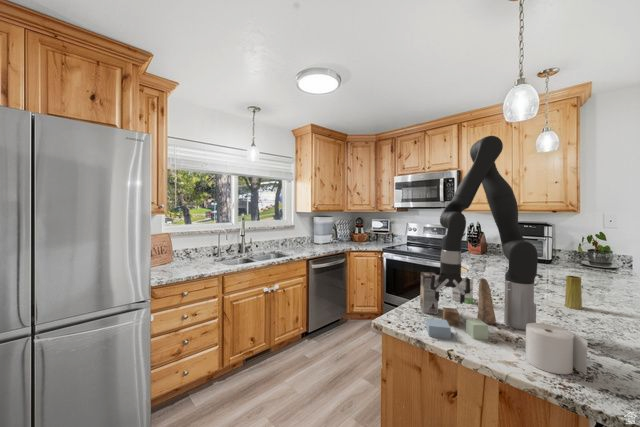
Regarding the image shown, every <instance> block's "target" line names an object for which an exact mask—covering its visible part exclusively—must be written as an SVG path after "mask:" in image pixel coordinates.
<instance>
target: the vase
mask: <svg viewBox="0 0 640 427" xmlns="http://www.w3.org/2000/svg"><path fill="white" fill-rule="evenodd" d="M565 277H566V278H565V296H564V307H566V308H568V307H569V309H572V308H573V309H572V310H582V309H583V298H582V297H583V296H582V277H580V276H578V275H577V276H576V275H566V276H565Z"/></svg>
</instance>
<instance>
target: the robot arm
mask: <svg viewBox="0 0 640 427" xmlns="http://www.w3.org/2000/svg"><path fill="white" fill-rule="evenodd" d="M503 146H504V144H503V141H502V139H501V138H499V137H498V136H496V135H486V136H485V137H482V138H481V139H479V140H478V141H476V142H475V143H474V144H472V145H471V147H470V150H469V154H470V155H469V156H470V159H471V161H472V165H471V167H470V169H469V170H468V172H467V173H466V174H465V176H464V177H462V180H461V181H460V183H459V185H458V186H457V188H456V190H455V192H454V195H453V197H452V199H451V200H450V202H449V203H448V204H447V205H446V206H445V207H444V209H443V211H442V212H441V215H440V216H439V217H440V218H439V223H440V226H441V227H443V228H444V229H446V230H447V232H446V234H445V235H443V236H442V239H441V252H440V263H439V264H440V266H439V274H436V275H434V274H432V275H431V285H430V287H431V289H432V290H434V291H435V299H437V301H438V302H439V301H440V290H442V289H443V288H444V287H446V288H451V289H452V288H455V287H457V288H458V289H459V291H460V292H461V293H460V301H459V304H461V305H463V304H464V301H465V294H469V293H470V279H469V278H470V277H469V276H465V277H466V278H462V277H461V276H462V262H463V260H462V259H463V258H462V256H463V255H462V241H463V238H464V234H465V231H466V227H467V219H466V216H465V214H464V213H462V212H463V211H466V210H467V209H469V208H470V207H471V206H472V203H473V201H474V198H475V197H476V194H477V192H478V191H479V188H480V186H481V185H482V188H483V190H484V194H485V198H486V200H487V204H488V207H489V209H490V211H491V215H492V218H493V220H494V223H495V225H496V227H497V228H496V229H497V230H498V233H499V239H500V243H501V249H502V253H503V255H504V257H505V258H506V259H507V260H508V265H507V267H508V268H507V271H506V272H505V273H504V274H505V275H504V312H503V313H504V314H503V315H504V316H503V317H504V318H503V319H504V321H503V322H504V324H505V325H506V326H508V327H510V328H513V329H516V330H522V331H526V325H527V324H528V323H537V304H536V303H535V279H536V277H537V274H538V264H539V263H538V262H539V261H538V259H539V258H538V257H539V256H538V255H539V254H538V250H537V248H536V246H535V245H534V244H533V243H531V242H529V241H526V240H525V239H524V236H523V234H522V231H521V229H520V226H519V225H520V224H519V205H518V202H517V198H516V196H515V192H514V190H513V188H512V187H511V185H510V184H509V182H507V181H506V180H505V178H504V177H503V176H502V175H501V174H500V171H499V170H498V168H497V165H496V160H497V159H498V157H499V156H500V155H501V153H502V151H503V149H504V147H503ZM468 277H469V278H468ZM437 278H439V280H440V282H438V285H437V286H436V287H434V284H435V280H437ZM462 280H463V282H464V283H465V288H466V290H463V289H462V288H461V287H460V285H459V283H460V282H461V281H462Z"/></svg>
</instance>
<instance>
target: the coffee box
mask: <svg viewBox="0 0 640 427" xmlns="http://www.w3.org/2000/svg"><path fill="white" fill-rule="evenodd" d="M432 274H434V275H437V274H436V273H435V272H426V271H425V272H424V271H420V300H419V301H420V304H419V305H420V308H421V310H422V313H423V314H434V315H438V314H439V301H437V299H435V291H434V290H432V289H431V287H430V285H431V275H432ZM439 280H440V279H439V278H437V280H435V284H434V287H436V286H437V285H438V284H439Z"/></svg>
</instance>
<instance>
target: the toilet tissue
mask: <svg viewBox="0 0 640 427" xmlns="http://www.w3.org/2000/svg"><path fill="white" fill-rule="evenodd" d="M588 342H589V341H588V340H587V339H585V338H584V337H582V336H580V335H579V334H576V333H574V332H572V331H569V330H568V329H565V328H563V327H560V326H556V325H553V324H548V323H542V322H536V323H528V324H527V325H526V330H525V357H524V358H525V360H526V362H528V363H529V364H530V365H532V366H533V367H535V368H536V369H539V370H542V371H545V372H548V373H552V374H558V375H570V374H572V373H573V372H574V370H573V369H574V368H575V369H576V370H578V371H579V372H581V373H582V374H584V376H587V375H588V374H587V373H588V372H587V371H588V370H587V369H588V344H589V343H588Z"/></svg>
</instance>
